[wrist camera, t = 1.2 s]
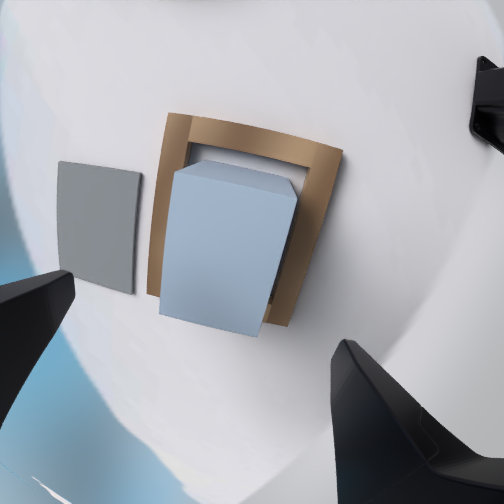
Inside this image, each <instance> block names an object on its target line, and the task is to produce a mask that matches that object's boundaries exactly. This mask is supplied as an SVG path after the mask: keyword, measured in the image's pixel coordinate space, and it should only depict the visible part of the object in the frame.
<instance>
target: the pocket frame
mask: <svg viewBox="0 0 504 504" xmlns="http://www.w3.org/2000/svg"><path fill="white" fill-rule="evenodd" d="M192 142H195V143H201V144H207V145H212V146H218V147H223V148H228V149H233V150H238V151H243V152H247V153H252V154H256V155H261V156H265V157H270V158H274V159H278V160H282V161H286V162H290V163H294V164H298V165H302V166H305V167H308V171H307V174H306V178H305V182H304V186H303V189H302V193H301V197H300V200H299V204H298V208H297V211H296V215H295V219H294V222H293V226H292V229H291V233H290V236H289V240H288V243H287V247H286V250H285V254H284V257H283V261H282V264H281V268H280V271H279V274H278V278H277V281H276V284H275V288H274V291H273V294H272V297H269V300H268V303H267V307H266V310H265V313H264V317H263V320H262V322H266V323H271V324H276V325H281V326H286V327H287V326H288V324H289V321H290V318H291V315H292V313H293V310H294V307H295V304H296V301H297V299H298V296H299V293H300V290H301V287H302V284H303V281H304V278H305V275H306V272H307V269H308V266H309V263H310V260H311V257H312V254H313V251H314V248H315V245H316V242H317V239H318V235H319V232H320V229H321V226H322V223H323V219H324V216H325V213H326V209H327V206H328V203H329V199H330V196H331V192H332V189H333V185H334V182H335V178H336V175H337V171H338V167H339V164H340V160H341V156H342V152H343V150H341V149H338V148H335V147H331V146H328V145H325V144H321V143H318V142H314V141H311V140H307V139H303V138H300V137H296V136H292V135H288V134H284V133H280V132H276V131H272V130H267V129H263V128H258V127H254V126H249V125H244V124H239V123H234V122H228V121H223V120H217V119H211V118H205V117H198V116H191V115H184V114H177V113H168V117H167V122H166V127H165V132H164V138H163V143H162V149H161V155H160V161H159V168H158V174H157V181H156V189H155V197H154V205H153V214H152V223H151V234H150V245H149V258H148V275H147V294H149V295H153V296H157V297H160V292H161V279H162V267H163V256H164V247H165V237H166V229H167V221H168V213H169V205H170V198H171V192H172V185H173V179H174V172H176V171H178V170H181V169H183V168H186V167H188V162H189V156H190V151H191V146H192Z"/></svg>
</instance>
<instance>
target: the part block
mask: <svg viewBox="0 0 504 504" xmlns="http://www.w3.org/2000/svg"><path fill="white" fill-rule="evenodd" d="M296 202H297V197H296V194H295V192H294V190H293V188H292V186H291V183H290V181H289V179H288V178H286V177H282V176H278V175H274V174H270V173H265V172H261V171H257V170H252V169H248V168H243V167H239V166H234V165H229V164H224V163H219V162H214V161H209V160H204V161H201V162H198V163H196V164H193V165H191V166H188V167H186V168H183V169H181V170H178V171H176V172H174V179H173V185H172V192H171V198H170V205H169V213H168V221H167V229H166V237H165V247H164V256H163V267H162V279H161V292H160V307H159V314H162V315H165V316H169V317H173V318H176V319H180V320H184V321H188V322H192V323H196V324H200V325H204V326H208V327H212V328H216V329H221V330H225V331H230V332H234V333H239V334H243V335H248V336H253V337H257V336H258V333H259V330H260V326H261V323H262V320H263V317H264V313H265V310H266V307H267V303H268V300H269V297H270V293H271V290H272V287H273V283H274V280H275V277H276V273H277V270H278V266H279V263H280V259H281V256H282V252H283V249H284V245H285V242H286V238H287V235H288V231H289V228H290V224H291V220H292V217H293V213H294V209H295V206H296Z"/></svg>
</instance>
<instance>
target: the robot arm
mask: <svg viewBox="0 0 504 504" xmlns="http://www.w3.org/2000/svg"><path fill="white" fill-rule="evenodd" d="M483 62H484V63H483ZM475 124H476V126H477V129H475ZM469 127H470V130H471V132H472V133H473V134H475V135H477V136H478V137H480V138H481V139H483V140H484V141H486V142H487V143H489V144H490V145H491V146H493V147H494V148H496V149H497V150H498V151H500V152H501V153H503V154H504V67H503V68H499V67H497V66H496V65H495V64H494V63H492V62H491V61H490V60H489V59H487V58H486V57H484V56H480V57H478V59H477V71H476V80H475V89H474V97H473V105H472V112H471V118H470V124H469ZM74 298H75V285H74V276H73V273H72V272H69V271H67V270H63V269H62V270H58V271H54V272H50V273H46V274H42V275H38V276H34V277H31V278H27V279H23V280H19V281H16V282H12V283H8V284H5V285H1V286H0V429H1V426H2V423H3V422H4V420H5V418H6V416H7V414H8V412H9V410H10V408H11V406H12V404H13V403H14V401H15V399H16V397H17V395H18V393H19V391H20V390H21V388H22V386H23V385H24V383H25V381H26V379H27V378H28V376H29V374H30V373H31V371H32V369H33V367H34V366H35V364H36V363H37V361H38V359H39V358H40V356H41V354H42V353H43V351H44V350H45V348H46V347H47V345H48V344H49V342H50V341H51V339H52V338H53V336H54V334H55V333H56V331H57V329H58V328H59V326H60V324H61V322H62V320H63V319H64V317H65V315H66V313H67V311H68V310H69V308H70V306H71V304H72V302H73V301H74ZM331 414H332V424H333V435H334V447H335V461H336V475H337V493H338V494H337V495H338V504H504V458H488V457H484V456H481V455H479V454H477V453H475V452H474V451H473V450H471V449H470V448H469V447H468V446H466V445H465V444H464V443H463V442H462V441H460V440H459V439H458V438H457V437H455V436H454V435H453V434H452V433H451V432H449V431H448V430H447V429H446V428H445V427H444V426H442V425H441V424H440V423H439V422H438V421H437V420H436V419H435V418H434V417H433V416H431V415H430V414H429V413H428V412H427V411H426V410H425V409H424V408H423V407H421V405H420V404H419V403H418V402H417V401H416V400H415V399H414V398H413V397H412V396H411V395H410V394H409V393H408V392H407V391H406V390H405V389H404V388H403V387H402V386H401V385H400V384H399V383H398V382H397V381H396V380H395V379H394V378H393V377H391V376H390V375H389V374H388V373H387V372H386V371H385V370H384V369H383V368H382V367H381V366H380V365H379V364H378V363H377V362H376V361H375V360H374V359H373V358H372V357H371V356H370V355H369V354H368V353H367V352H366V351H365V350H364V349H363V348H362V347H361V346H359V345H358V344H357V343H356V342H355V341H354V340H347V339H343V340H341V342H340V343H339V345H338V347H337V349H336V351H335V353H334V355H333V357H332V359H331Z"/></svg>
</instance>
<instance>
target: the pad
mask: <svg viewBox="0 0 504 504" xmlns="http://www.w3.org/2000/svg"><path fill="white" fill-rule="evenodd" d="M140 180H141V173H139V172H133V171H127V170H120V169H114V168H107V167H101V166H94V165H86V164H79V163H71V162H63V161H60V162H58V177H57V236H58V253H59V265H60V270H62V269H63V270H67V271H69V272H72V273H73V276H74V277H77V278H79V279H82V280H85V281H88V282H92V283H95V284H98V285H101V286H104V287H107V288H110V289H114V290H117V291H120V292H123V293H127V294H130V295H132V294H133V269H134V247H135V231H136V218H137V207H138V197H139V188H140Z"/></svg>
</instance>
